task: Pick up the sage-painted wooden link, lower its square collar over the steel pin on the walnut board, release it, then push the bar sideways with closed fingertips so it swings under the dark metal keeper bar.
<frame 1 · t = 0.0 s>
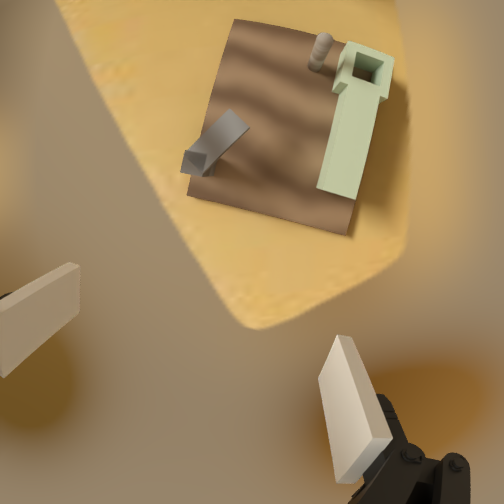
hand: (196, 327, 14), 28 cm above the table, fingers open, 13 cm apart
link: (331, 191, 38), point 1 cm above the table, touching pintle board
pintle board: (290, 118, 37), on the table
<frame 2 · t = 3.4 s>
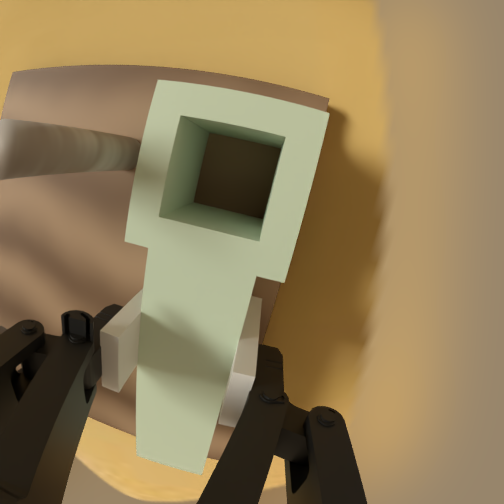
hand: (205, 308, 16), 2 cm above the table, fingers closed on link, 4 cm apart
link: (186, 413, 19), point 1 cm above the table, touching gripper, pintle board
pintle board: (100, 279, 18), on the table
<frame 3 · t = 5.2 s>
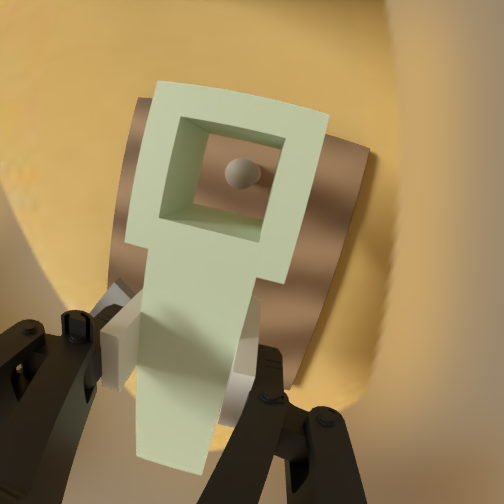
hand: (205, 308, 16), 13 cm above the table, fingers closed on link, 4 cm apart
link: (186, 413, 19), point 12 cm above the table, touching gripper
pintle board: (218, 254, 29), on the table
when the fingers open (3 cm above the table, at t = 7.1 s): link drops 1 cm, resting on pintle board.
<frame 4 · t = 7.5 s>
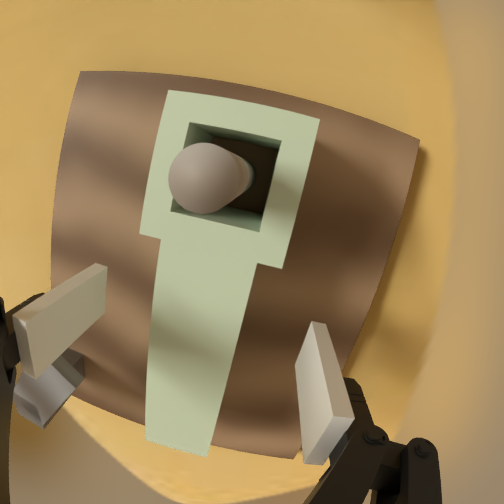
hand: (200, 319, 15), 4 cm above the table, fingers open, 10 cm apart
link: (192, 400, 20), point 1 cm above the table, touching pintle board
pintle board: (193, 296, 19), on the table
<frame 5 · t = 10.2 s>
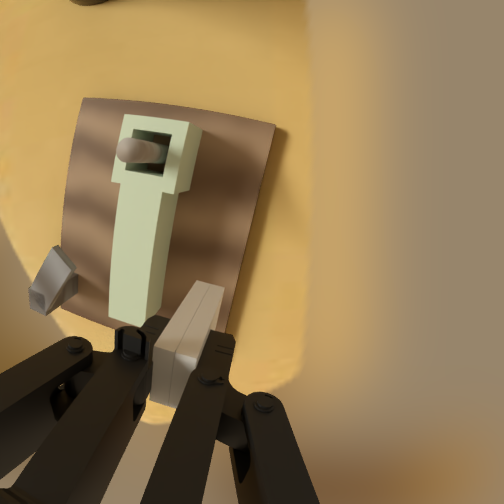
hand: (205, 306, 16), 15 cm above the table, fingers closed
link: (144, 302, 32), point 1 cm above the table, touching pintle board
pintle board: (145, 228, 31), on the table
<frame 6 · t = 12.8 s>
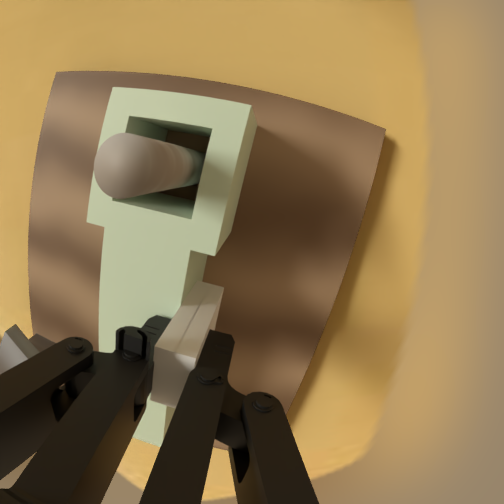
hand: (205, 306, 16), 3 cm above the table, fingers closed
link: (155, 391, 20), point 1 cm above the table, touching gripper, pintle board
pintle board: (157, 288, 19), on the table
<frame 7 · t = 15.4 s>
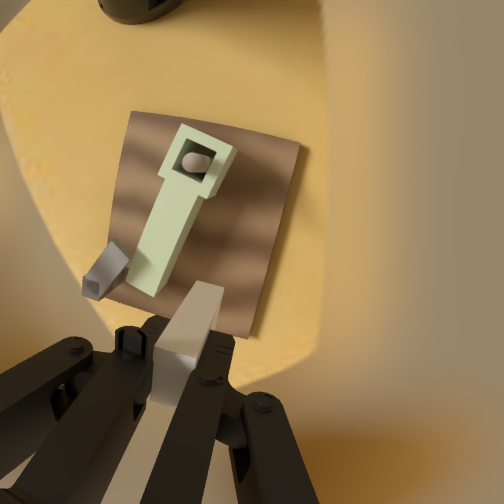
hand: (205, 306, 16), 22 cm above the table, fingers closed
link: (153, 275, 39), point 1 cm above the table, touching pintle board
pintle board: (189, 225, 38), on the table
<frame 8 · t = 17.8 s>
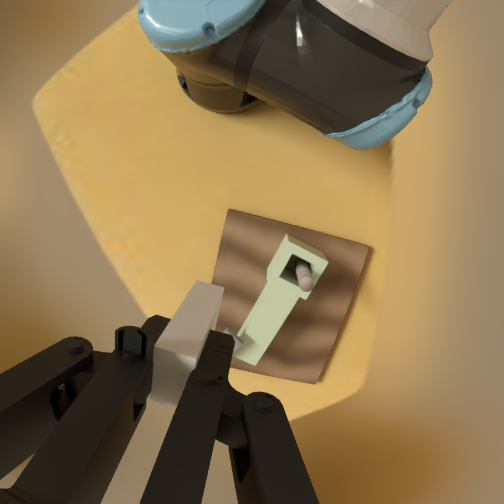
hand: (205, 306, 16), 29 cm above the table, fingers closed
link: (245, 343, 49), point 1 cm above the table, touching pintle board
pintle board: (277, 306, 48), on the table
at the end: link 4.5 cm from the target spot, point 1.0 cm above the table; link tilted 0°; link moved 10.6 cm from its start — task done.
